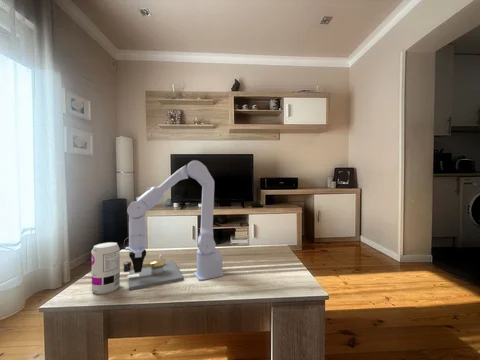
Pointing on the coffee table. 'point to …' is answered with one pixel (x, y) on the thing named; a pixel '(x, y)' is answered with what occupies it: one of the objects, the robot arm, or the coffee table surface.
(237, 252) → the coffee table surface
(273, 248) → the coffee table surface
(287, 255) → the coffee table surface
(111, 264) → the supplement can
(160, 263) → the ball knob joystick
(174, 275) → the plate
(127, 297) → the coffee table surface
